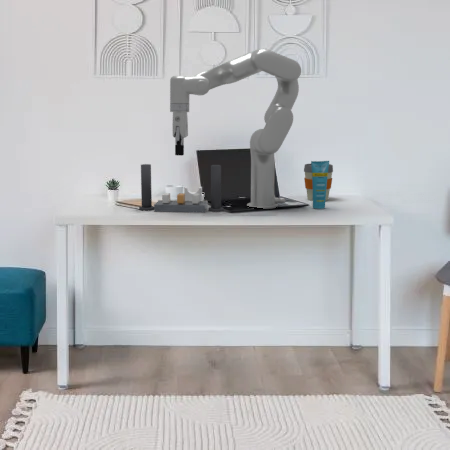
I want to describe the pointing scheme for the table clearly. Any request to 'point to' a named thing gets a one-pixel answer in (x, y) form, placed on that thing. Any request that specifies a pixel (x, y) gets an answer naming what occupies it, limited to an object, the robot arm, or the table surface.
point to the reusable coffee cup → (309, 181)
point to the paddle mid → (181, 198)
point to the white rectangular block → (166, 198)
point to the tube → (319, 183)
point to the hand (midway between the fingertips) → (179, 155)
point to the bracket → (189, 194)
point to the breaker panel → (180, 206)
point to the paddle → (196, 198)
